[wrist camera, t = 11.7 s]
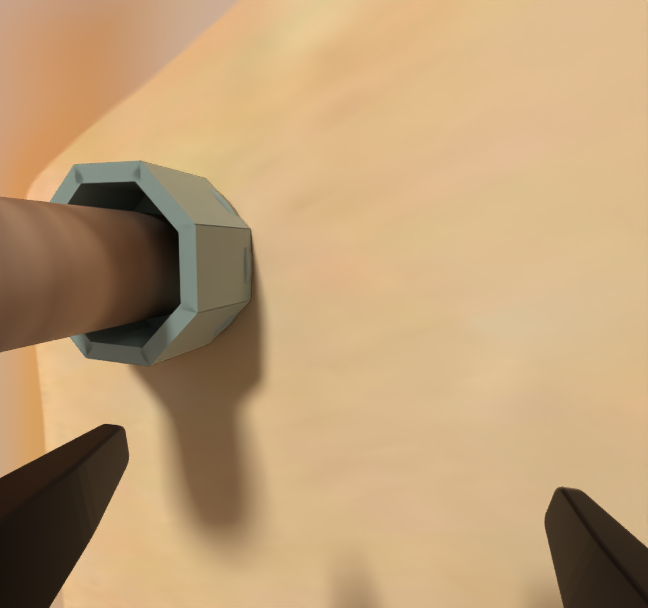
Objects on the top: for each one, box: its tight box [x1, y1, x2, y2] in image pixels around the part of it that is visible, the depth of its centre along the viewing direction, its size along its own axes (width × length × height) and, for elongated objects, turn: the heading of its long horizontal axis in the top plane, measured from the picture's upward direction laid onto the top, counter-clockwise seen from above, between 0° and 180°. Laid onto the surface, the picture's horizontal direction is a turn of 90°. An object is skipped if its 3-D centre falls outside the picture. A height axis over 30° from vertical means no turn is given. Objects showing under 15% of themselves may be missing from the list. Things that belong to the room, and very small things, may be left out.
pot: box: [50, 161, 253, 367], centre depth 20 cm, size 9×9×4 cm
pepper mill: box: [0, 197, 181, 352], centre depth 16 cm, size 5×5×13 cm
